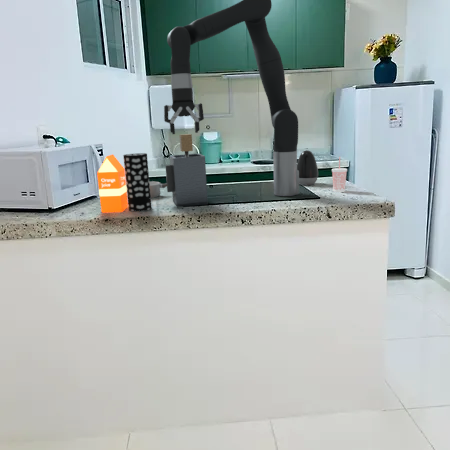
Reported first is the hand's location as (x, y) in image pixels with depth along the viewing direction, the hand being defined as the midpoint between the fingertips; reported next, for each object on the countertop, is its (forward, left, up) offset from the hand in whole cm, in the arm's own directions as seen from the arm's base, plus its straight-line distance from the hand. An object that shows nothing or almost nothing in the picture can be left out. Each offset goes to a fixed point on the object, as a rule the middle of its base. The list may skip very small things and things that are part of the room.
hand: (185, 133), depth 164 cm
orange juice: (+28, 0, -27) cm, 38 cm away
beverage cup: (-61, +3, -27) cm, 67 cm away
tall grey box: (+1, 0, -26) cm, 26 cm away
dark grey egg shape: (-56, -18, -27) cm, 65 cm away
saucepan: (+10, -21, -27) cm, 35 cm away
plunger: (0, 0, -25) cm, 25 cm away
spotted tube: (+19, +3, -27) cm, 33 cm away
